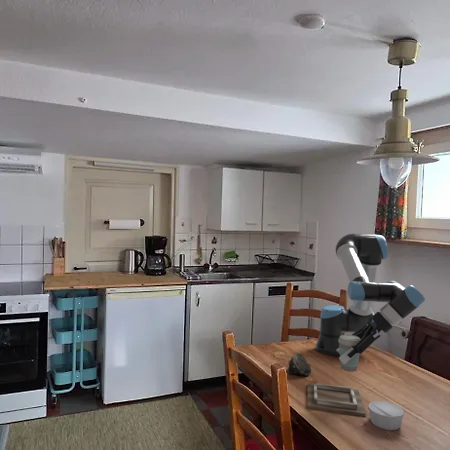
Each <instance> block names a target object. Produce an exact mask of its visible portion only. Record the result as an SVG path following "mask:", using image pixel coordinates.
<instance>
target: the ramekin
mask: <svg viewBox="0 0 450 450" xmlns="http://www.w3.org/2000/svg"><path fill="white" fill-rule="evenodd" d="M367 409H368V411H369V412H368V413H369V419H370V422H371V423H372V424H373V425H374V426H376V427H377V428H379V429H383V430H385V431H396V430H399V428H401V426H402V423H403V417H405V411H404V410H403V408H401V406H399V405H397V404H394V403H392V402H390V401H383V400H382V401H381V400H374V401H372V402H370V403H369V404H368V408H367Z"/></svg>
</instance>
